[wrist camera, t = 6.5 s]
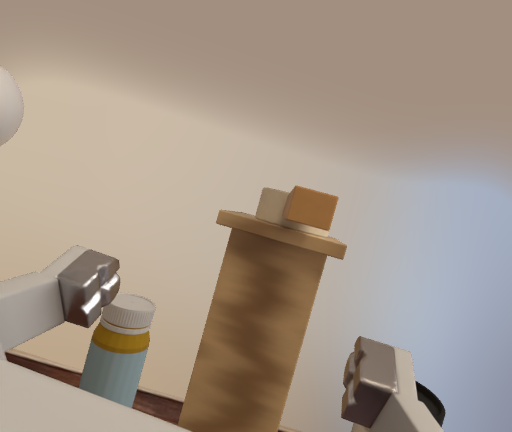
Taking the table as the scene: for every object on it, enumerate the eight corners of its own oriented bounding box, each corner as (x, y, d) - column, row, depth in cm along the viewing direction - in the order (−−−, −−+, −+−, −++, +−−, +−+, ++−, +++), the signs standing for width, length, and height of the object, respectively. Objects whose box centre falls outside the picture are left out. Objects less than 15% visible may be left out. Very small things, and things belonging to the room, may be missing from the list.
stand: (108, 613, 26) (219, 209, 25) (159, 512, 35) (242, 212, 34) (227, 668, 25) (347, 245, 24) (248, 549, 34) (336, 238, 33)
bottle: (67, 430, 42) (100, 306, 42) (76, 395, 49) (105, 288, 48) (128, 432, 44) (160, 315, 44) (129, 399, 51) (157, 297, 51)
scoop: (239, 222, 16) (254, 169, 16) (256, 216, 32) (264, 189, 32) (368, 258, 16) (384, 204, 16) (321, 234, 32) (329, 207, 32)
